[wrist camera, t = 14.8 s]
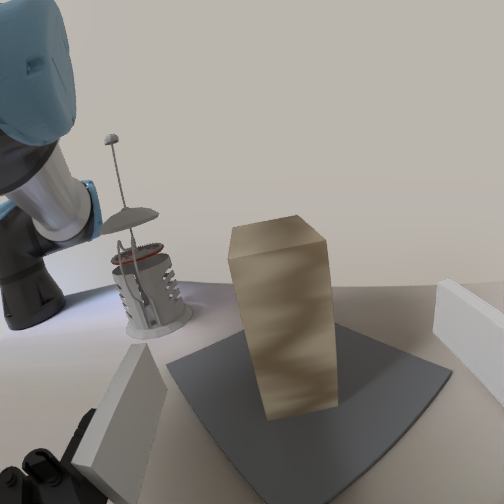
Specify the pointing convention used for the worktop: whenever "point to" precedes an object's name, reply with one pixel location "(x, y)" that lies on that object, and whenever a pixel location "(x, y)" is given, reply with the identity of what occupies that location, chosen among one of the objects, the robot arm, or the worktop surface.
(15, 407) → the worktop surface
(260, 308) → the birch block
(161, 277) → the french press
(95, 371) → the worktop surface
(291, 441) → the mat
